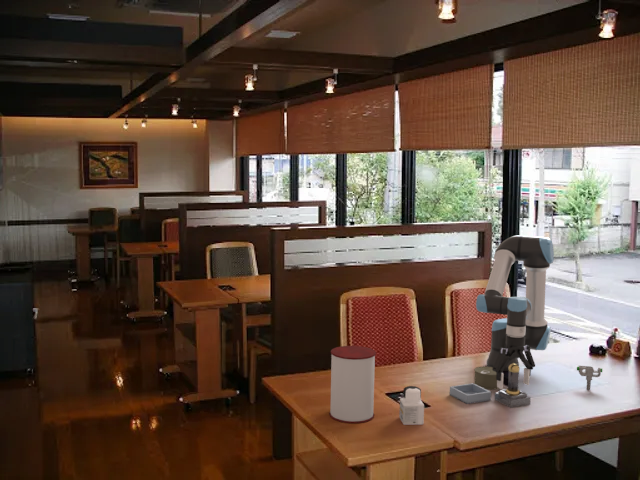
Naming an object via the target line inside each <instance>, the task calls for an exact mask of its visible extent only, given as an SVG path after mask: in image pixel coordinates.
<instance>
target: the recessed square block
mask: <svg viewBox="0 0 640 480" xmlns="http://www.w3.org/2000/svg"><path fill="white" fill-rule="evenodd" d="M506 389H507V388H503V389H500V390H499V389H498V391H497V392H494V400H495V401H497V402H499V403H500V404H503V405H505V406H506V407H509V408H510V409H511V408H516V407H517V408H518V407H522V406H523V407H525V406H529V405H531V398H532V397H531V396H528V393H526V392H524V391H522V390H520V389H518V390H519V394H517V395H510V394H508V393H506Z"/></svg>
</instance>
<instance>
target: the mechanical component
mask: <svg viewBox="0 0 640 480" xmlns="http://www.w3.org/2000/svg"><path fill="white" fill-rule="evenodd" d="M576 371H578V374H579V375H580V376H581V377H585V380H586V390H587V391H591V384H592V380H593V378H594V377H595V378H599V377H600V376H601V375H602V374H601V373H603V368H601V367H598V368H597V370H595V368H594V367H593V366H592V365H591V366H588V365H578V366H577V367H576Z"/></svg>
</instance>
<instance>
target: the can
mask: <svg viewBox="0 0 640 480" xmlns="http://www.w3.org/2000/svg"><path fill="white" fill-rule="evenodd" d="M492 369H493V367H487V366H478V367H474V378H473V379H474V380H473V381H474V382H473V383H474V384H476V385H478V386H480V387H482V388H484V389H486V390H488V391H491V390H499V389H500V388H498V387H497V380H496V372H495V371H493V370H492ZM500 390H501V389H500Z"/></svg>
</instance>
